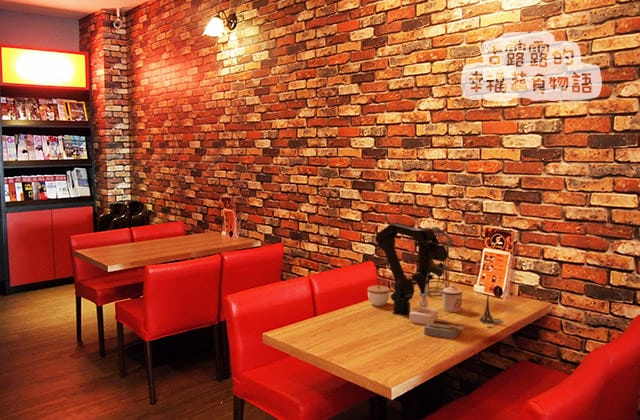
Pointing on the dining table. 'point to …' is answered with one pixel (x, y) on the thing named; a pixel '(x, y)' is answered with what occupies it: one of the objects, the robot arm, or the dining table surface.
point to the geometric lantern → (440, 261)
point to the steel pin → (424, 297)
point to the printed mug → (452, 299)
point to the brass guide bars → (434, 320)
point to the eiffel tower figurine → (489, 316)
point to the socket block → (441, 331)
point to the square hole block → (421, 315)
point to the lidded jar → (378, 295)
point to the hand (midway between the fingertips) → (424, 292)
